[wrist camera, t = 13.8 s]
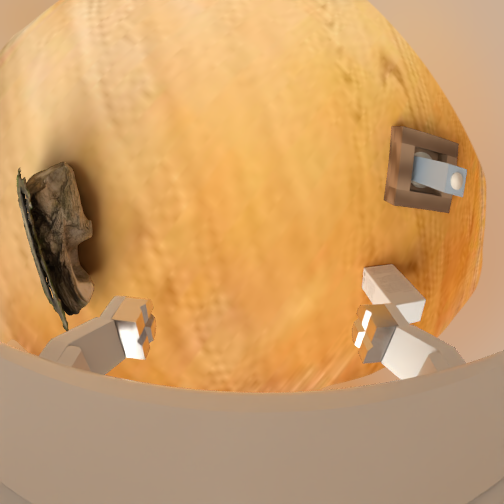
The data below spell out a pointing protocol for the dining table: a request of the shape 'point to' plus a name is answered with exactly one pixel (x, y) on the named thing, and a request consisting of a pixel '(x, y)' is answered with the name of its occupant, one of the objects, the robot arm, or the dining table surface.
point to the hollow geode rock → (57, 236)
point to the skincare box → (393, 291)
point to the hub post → (439, 175)
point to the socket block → (401, 166)
